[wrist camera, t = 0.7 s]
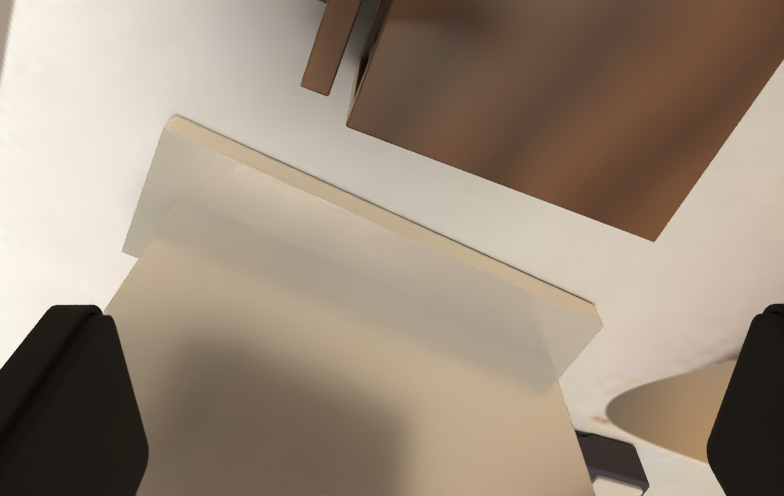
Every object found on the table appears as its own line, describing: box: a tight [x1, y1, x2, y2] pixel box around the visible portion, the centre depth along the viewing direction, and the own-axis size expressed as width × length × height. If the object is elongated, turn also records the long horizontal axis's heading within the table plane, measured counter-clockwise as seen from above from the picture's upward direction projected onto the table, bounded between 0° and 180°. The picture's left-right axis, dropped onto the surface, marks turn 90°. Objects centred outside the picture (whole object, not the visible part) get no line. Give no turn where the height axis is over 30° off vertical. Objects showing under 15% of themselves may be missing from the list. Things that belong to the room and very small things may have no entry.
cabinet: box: [346, 0, 784, 242], centre depth 27 cm, size 15×13×9 cm
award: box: [103, 115, 604, 496], centre depth 27 cm, size 28×9×28 cm, turn 63°
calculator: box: [576, 435, 649, 496], centre depth 47 cm, size 11×4×15 cm
